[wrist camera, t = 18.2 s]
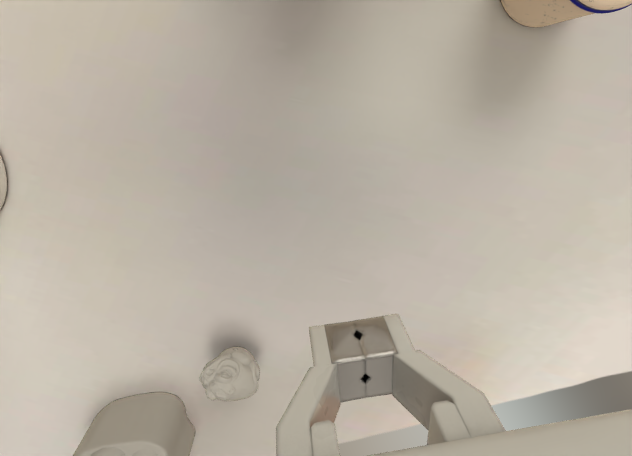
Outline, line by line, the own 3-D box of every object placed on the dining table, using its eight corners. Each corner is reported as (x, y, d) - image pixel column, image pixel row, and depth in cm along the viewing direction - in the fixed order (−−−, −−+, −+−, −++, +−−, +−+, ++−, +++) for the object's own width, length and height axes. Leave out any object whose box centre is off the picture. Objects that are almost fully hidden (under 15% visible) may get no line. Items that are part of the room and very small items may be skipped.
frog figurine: (225, 323, 45) (214, 362, 38) (272, 350, 46) (270, 392, 40) (198, 357, 46) (183, 401, 39) (245, 382, 48) (238, 428, 41)
